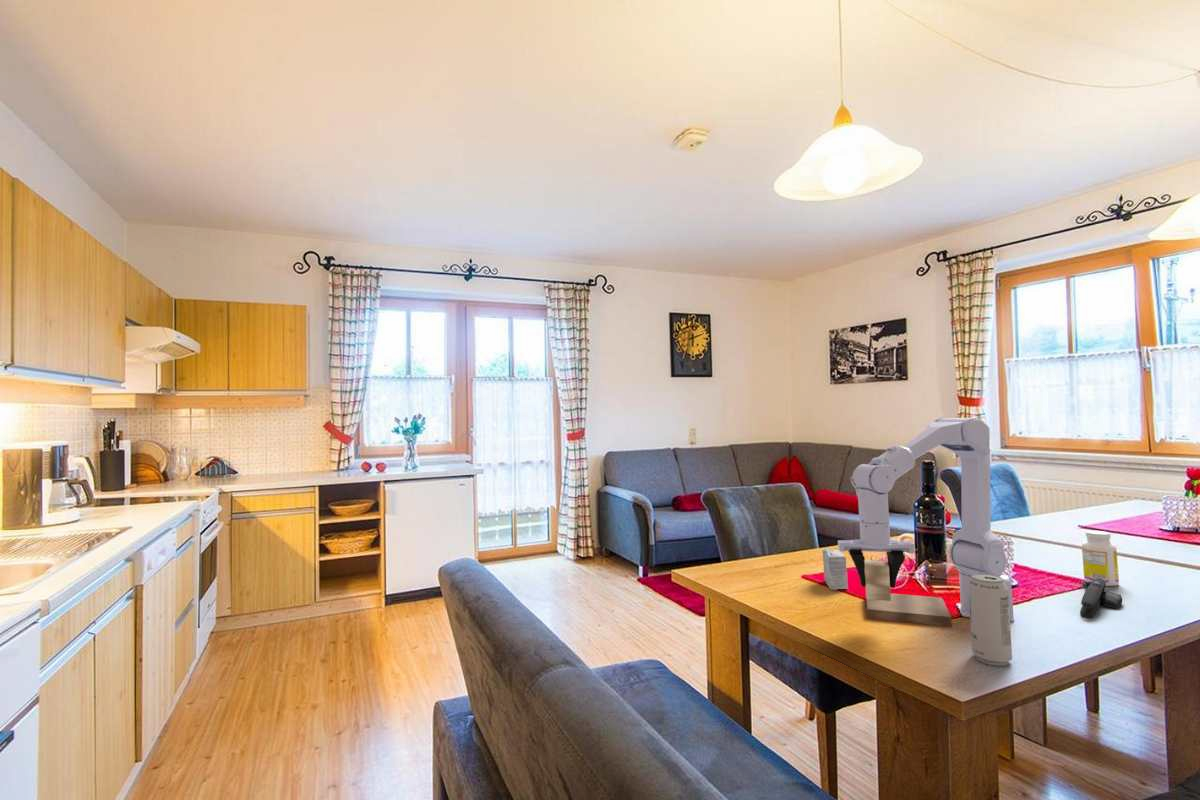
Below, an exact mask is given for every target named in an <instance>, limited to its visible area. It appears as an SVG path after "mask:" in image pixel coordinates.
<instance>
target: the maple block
mask: <svg viewBox="0 0 1200 800" xmlns="http://www.w3.org/2000/svg"><path fill="white" fill-rule="evenodd" d="M865 580H866V587H865V599H866V598H867V599H873V600H884V601H891V596H890V593H891V587H890V576H889V565H888V560H874V559H873V560H872V559H865Z"/></svg>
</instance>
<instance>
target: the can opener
mask: <svg viewBox="0 0 1200 800" xmlns="http://www.w3.org/2000/svg"><path fill="white" fill-rule="evenodd" d="M1080 585H1081V586H1082V588H1083V589H1084V592H1083V596H1082V598H1081V602H1080V604H1081V605H1082V606H1081V608H1080V611H1079V614H1080V615H1081V616H1082V617H1083V618H1086V619H1092V618H1094V617H1095V616H1096V614H1097V612H1098V610H1099V607H1100V604H1102V605H1103V607H1106V608H1112V609H1119V608H1120V607H1121V606H1122V604H1123V596H1122V595H1121V594H1119V593H1117V592H1114V591H1112V590H1109V589H1107V590H1105V589H1106V587H1107V586H1106V583H1105V581H1104V580H1102V579H1100V578H1096V579H1094V580H1093V581H1089V582H1087V581H1085V580H1084V581H1083V580H1082V581H1081V584H1080Z"/></svg>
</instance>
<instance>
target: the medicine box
mask: <svg viewBox="0 0 1200 800" xmlns="http://www.w3.org/2000/svg"><path fill="white" fill-rule="evenodd" d="M822 560H823V561H822V562H823V578H824V582H825V584H826V585H827V586H828V589H829V590H831V591H832V590H833V591H839V590H838V589H848V590H849V585H848V570H847V557H846V556H845V555H844V554H843V552H842V551H839V550H838V549H823V550H822Z"/></svg>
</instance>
